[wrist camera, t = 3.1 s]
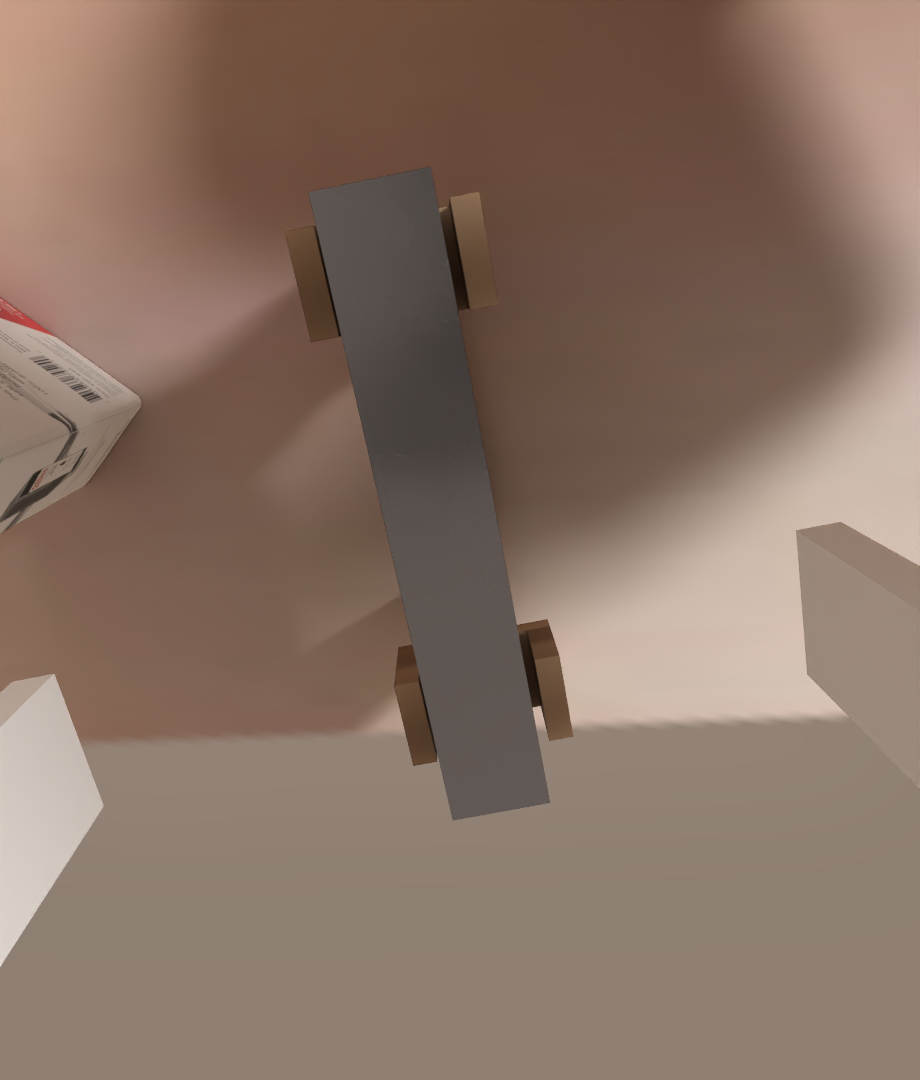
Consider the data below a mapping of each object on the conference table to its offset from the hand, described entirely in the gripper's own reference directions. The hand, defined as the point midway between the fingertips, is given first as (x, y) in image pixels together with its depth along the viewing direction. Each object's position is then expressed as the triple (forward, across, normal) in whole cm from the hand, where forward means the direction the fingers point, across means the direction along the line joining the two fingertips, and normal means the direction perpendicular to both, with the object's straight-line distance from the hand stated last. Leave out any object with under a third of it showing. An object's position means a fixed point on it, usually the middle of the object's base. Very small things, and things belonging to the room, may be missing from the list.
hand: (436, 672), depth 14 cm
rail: (+13, 0, 0) cm, 13 cm away
